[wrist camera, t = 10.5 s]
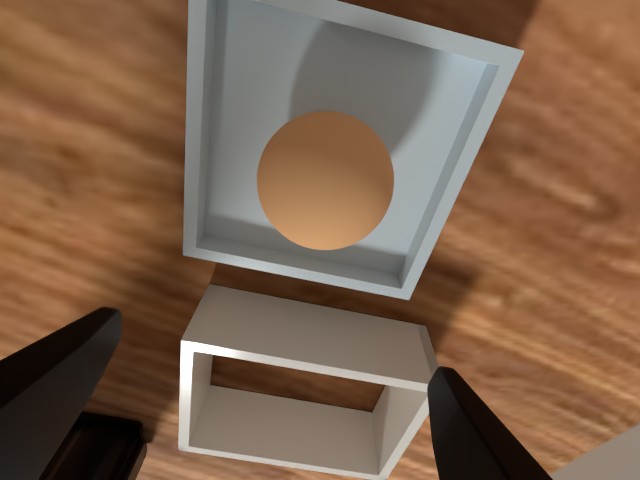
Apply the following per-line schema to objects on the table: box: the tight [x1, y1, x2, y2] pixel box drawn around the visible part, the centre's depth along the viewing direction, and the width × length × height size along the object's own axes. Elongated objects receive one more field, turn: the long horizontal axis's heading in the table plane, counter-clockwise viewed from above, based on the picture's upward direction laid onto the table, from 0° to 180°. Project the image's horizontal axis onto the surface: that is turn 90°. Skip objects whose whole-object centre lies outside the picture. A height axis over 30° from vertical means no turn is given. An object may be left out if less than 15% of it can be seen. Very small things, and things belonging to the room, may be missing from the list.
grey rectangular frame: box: [178, 284, 439, 480], centre depth 25 cm, size 15×11×5 cm
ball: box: [257, 111, 394, 250], centre depth 15 cm, size 6×6×6 cm
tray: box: [183, 0, 524, 300], centre depth 18 cm, size 13×13×2 cm
